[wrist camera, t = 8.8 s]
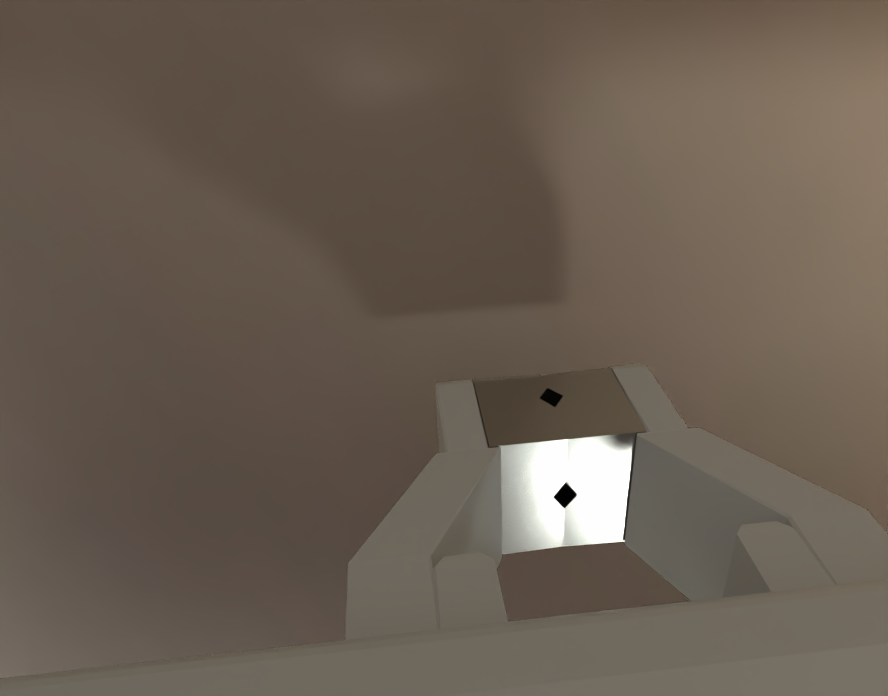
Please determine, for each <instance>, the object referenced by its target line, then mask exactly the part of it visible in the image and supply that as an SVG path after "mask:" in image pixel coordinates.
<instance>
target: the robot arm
mask: <svg viewBox="0 0 888 696" xmlns="http://www.w3.org/2000/svg"><path fill="white" fill-rule="evenodd" d="M435 392H436V408H437V424H438V440H439V453H436V454H435V455H434V456H433V457H432V459H431V460H430V461H429V462H428V464H427V465H426V466H425V468H424V469H423V470H422V471H421V473H420V474H419V475H418V476H417V478H416V479H415V480H414V481H413V483H412V484H411V485H410V486H409V488H408V489H407V490H406V491H405V493H404V494H403V495H402V496H401V498H400V499H399V500H398V501H397V503H396V504H395V505H394V506H393V508H392V509H391V510H390V511H389V513H388V514H387V515H386V516H385V518H384V519H383V520H382V521H381V523H380V524H379V525H378V526H377V528H376V529H375V530H374V531H373V533H372V534H371V535H370V536H369V538H368V539H367V540H366V541H365V543H364V544H363V545H362V546H361V548H360V549H359V550H358V551H357V553H356V554H355V555H354V556H353V558H352V559H351V560H350V561H349V563H348V573H347V601H346V630H345V640H341V641H332V642H323V643H314V644H305V645H297V646H288V647H279V648H270V649H261V650H252V651H242V652H233V653H224V654H214V655H205V656H196V657H187V658H178V659H169V660H161V661H152V662H143V663H134V664H125V665H116V666H107V667H98V668H89V669H81V670H72V671H63V672H54V673H45V674H36V675H27V676H18V677H9V678H1V679H0V696H888V534H887V532H886V531H885V530H884V529H883V528H882V527H881V525H880V524H879V523H878V522H877V521H876V520H875V518H874V517H873V516H872V515H871V514H870V513H869V512H868V510H867V509H865V508H863V507H861V506H859V505H857V504H855V503H852V502H850V501H848V500H846V499H844V498H842V497H840V496H838V495H836V494H834V493H832V492H830V491H828V490H826V489H824V488H822V487H820V486H818V485H816V484H814V483H811V482H809V481H807V480H805V479H803V478H801V477H799V476H797V475H795V474H793V473H791V472H789V471H787V470H785V469H783V468H781V467H779V466H777V465H775V464H772V463H770V462H768V461H766V460H764V459H762V458H760V457H758V456H756V455H754V454H752V453H750V452H748V451H746V450H744V449H742V448H740V447H738V446H736V445H734V444H731V443H729V442H727V441H725V440H723V439H721V438H719V437H717V436H715V435H713V434H711V433H709V432H707V431H705V430H703V429H701V428H688V427H687V426H686V424H685V423H684V421H683V420H682V418H681V417H680V415H679V414H678V412H677V411H676V409H675V408H674V406H673V405H672V403H671V402H670V400H669V399H668V397H667V395H666V394H665V392H664V391H663V389H662V388H661V386H660V385H659V383H658V382H657V380H656V379H655V377H654V376H653V374H652V373H651V371H650V370H649V368H648V367H647V366H646V365H644V364H642V363H637V364H629V365H622V366H614V367H607V368H601V369H592V370H584V371H575V372H566V373H557V374H548V375H540V374H539V375H525V376H511V377H498V378H484V379H472V380H470V379H467V380H457V381H447V382H438V383H436V391H435ZM613 542H625V543H624V545H626V546H627V547H628V548H629V549H630V550H632V551H633V552H634V553H635V554H636V555H637V556H639V557H640V558H641V559H642V560H643V561H645V562H646V563H647V564H648V565H649V566H650V567H652V568H653V569H654V570H655V571H656V572H657V573H659V574H660V575H661V576H662V577H663V578H665V579H666V580H667V581H668V582H669V583H670V584H672V585H673V586H674V587H675V588H676V589H677V590H679V591H680V592H681V593H682V594H683V595H685V596H686V597H687V598H688V599H689V600H690V601H687V602H678V603H669V604H660V605H651V606H642V607H633V608H623V609H614V610H605V611H596V612H587V613H578V614H569V615H561V616H552V617H543V618H534V619H525V620H517V621H508V619H507V615H506V610H505V605H504V601H503V596H502V592H501V587H500V583H499V578H498V573H497V568H498V566H499V564H500V562H501V560H502V555H503V554H510V553H518V552H525V551H533V550H540V549H547V548H555V547H562V546H575V545H588V544H600V543H613Z"/></svg>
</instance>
